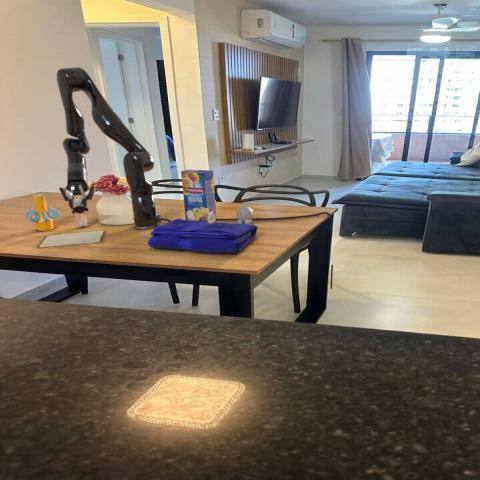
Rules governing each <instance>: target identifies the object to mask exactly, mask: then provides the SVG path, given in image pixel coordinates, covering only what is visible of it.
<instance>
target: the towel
mask: <svg viewBox="0 0 480 480" xmlns="http://www.w3.org/2000/svg"><path fill="white" fill-rule="evenodd" d="M258 227H259V226H257V225H255V224H252V223H251V224H239V223H237V222H235V223H234V222H233V223H232V222H222V221H221V222H220V221H218V222H217V221H215V222H213V223H207V222H205V221H195V220H186V218H185V219H183V218H175V219H173V220H171V221H170V222H168V221H167V222H166V223H163V224H159V225H158V226H157V227H154V228H152V231H150V235H151V237H150V238H149V239H148V240H147V245H148V246H149V247H150V248H152V249H153V248H154V249H164V250H175V251H188V252H192V253H201V254H203V253H204V254H206V253H207V254H231V255H237V254H239V253H240V252H241V251H242V250H243V249H244V248H245V247H247V246H248V245H249V244H250V243H252V242H253V241H254V239H255V238H256V236H257V233H258Z"/></svg>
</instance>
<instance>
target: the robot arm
mask: <svg viewBox="0 0 480 480" xmlns="http://www.w3.org/2000/svg"><path fill="white" fill-rule="evenodd" d="M56 82H57V87H58V92H59V97H60V99H61V104H62V106H63V110H64V116H65V130H66V133H67V135H69V136H71V137H66V138H64V139H63V141H62V147H63V150H64V153H65V155H66V158H67V168H66V177H67V178H66V183H67V184H66V186H65V187H59V188H58V189H59V192H60V194H61V195H62V197H63V200H64V201H65V202H68V207H69V209H71V210H73V209H74V208H75V203H74V201H75V199H76V196H81V197H82V198H81V200H82V206H83V208H86V207H87V208H88V201H91V200H92V199H93V197H94V195H95V192H96V187H95V185H91V186H90V185H88V170H87V159H86V156H84V155H87V154H89V153H90V150H91V145H90V143H89V141H88V138H87V134H86V131H85V130H86V129H85V127H86V126H85V118H84V115H83V113H82V112H81V110H80V109H79V108H78V107H77V105H76V103H75V101H74V97H73V96H74V95H73V93H76V92H83V93H84V94H85V95H86V96H87V98H88V99H89V101H90V106H91V107H90V108H91V109H90V110H91V117H92V120H93V122H94V123H95V125H96V126H97V127H98V129H99V130H100V131H101V132H102V134H104V136H106V137H107V138H109V139H110V140H112V141H113V142H115V143H116V144H118V145H119V146H121V147H122V148H123V149H124V150H125V151H126V154H124V156H123V160H122V163H123V165H122V166H123V170H124V175H125V180H126V184H127V185H128V187H129V194H130V199H131V207H132V214H133V218H132V219H133V222H134V223H133V224H134V229H137V230H149V229H154V228H155V227H157V226H159V225H158V224H160V223H162V221H164V222H167V223H168V222H170V221H172V220H171V219H168V218H165V217H162V215H161V214H157V210H156V209H157V208H156V203H155V194H154V185H153V182H152V181H151V180H147V179H146V176H145V173H149V172H150V171H152V170H153V169H154V167H155V161H154V158H153V156H152V155H151V154H150V152H149V151H148V150H147V149H146V148H145V147H144V146H143V144H141V143H140V142H139V141H138V139H137V138H136V137H135V136H134V135H133V133H132V132H131V131H130V129H129V128H128V127H127V126H126V125H125V123H124V122H123V120H122V119H121V118H120V116H119V115H118V113H116V111H115V110H114V109H113V108H112V106H111V105H110V104H109V103H108V101H107V99H105V97H104V96H103V95H102V93H101V91H100V89H98V86H97V85H96V83H95V82H94V81H93V78H92V77H91V76H90V75H89V73H88V72H87V71H86V70H85V69H84V68H82V67H78V66H77V67H76V66H74V67H64V68H63V67H62V68H59V69H58V70H57V71H56ZM67 191H68V192H69V193H68V194H69V195H68V196H67V194H66V193H67ZM87 191H88V193H87V195H86V192H87ZM324 214H325V215H328V216H331V213H330V212H328V211H322V212H318V213H313V214H305V215H293V216H283V217H282V216H281V217H258V218H257V217H255V218H254V217H252V218H251V219H252V221H278V220H290V219H291V220H293V219H301V218H310V217H317V216H321V215H324ZM217 221H218V222H220V221H221V222H222V221H238V218H216V221H215V222H217ZM333 271H334V264H331V265H330V290H333V275H334V274H333V273H334V272H333Z"/></svg>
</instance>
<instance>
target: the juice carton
mask: <svg viewBox="0 0 480 480" xmlns="http://www.w3.org/2000/svg"><path fill="white" fill-rule="evenodd" d="M180 175H181V185H182V197H183V205H184V215H185V220H195V221H205V222H207V223H216V222H217V221H216V219H217V205H216V193H215V192H216V191H215V178H214V170H210V169H209V170H208V169H195V168H194V169H191V168H190V169H185V170H182V171H180Z"/></svg>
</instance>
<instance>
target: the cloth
mask: <svg viewBox="0 0 480 480" xmlns="http://www.w3.org/2000/svg"><path fill="white" fill-rule="evenodd" d="M103 234H104V230H94V231H84V232H83V231H81V232H73V233H71V232H70V233H62V234H49V235H47V236H46V238H45V239H44V240H43V241H42V242H41V244H40V245H39V248H50V247H60V246H69V245H79V244H90V243H100V242H101V239H102V237H103Z"/></svg>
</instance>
